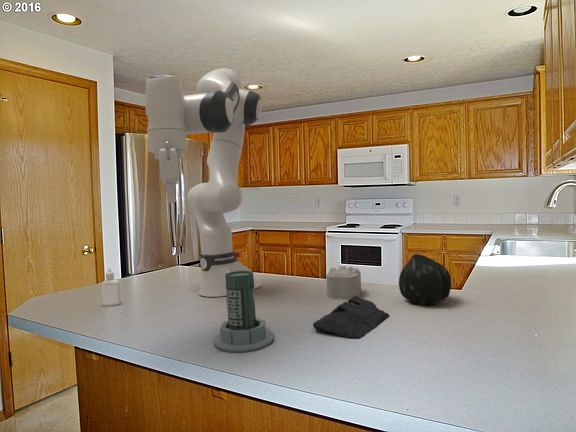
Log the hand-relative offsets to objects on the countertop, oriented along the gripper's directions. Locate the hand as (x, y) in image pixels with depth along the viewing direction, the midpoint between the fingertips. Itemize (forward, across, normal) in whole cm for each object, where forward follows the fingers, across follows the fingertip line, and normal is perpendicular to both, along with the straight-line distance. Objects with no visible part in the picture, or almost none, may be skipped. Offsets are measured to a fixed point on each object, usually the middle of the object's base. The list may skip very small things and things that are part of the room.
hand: (171, 202), depth 98 cm
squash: (+34, +5, -70) cm, 78 cm away
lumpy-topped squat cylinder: (+34, +23, -52) cm, 66 cm away
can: (+32, -7, -14) cm, 36 cm away
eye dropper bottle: (+33, +44, +22) cm, 59 cm away
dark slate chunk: (+34, -4, -42) cm, 54 cm away
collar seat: (+33, -7, -14) cm, 37 cm away
